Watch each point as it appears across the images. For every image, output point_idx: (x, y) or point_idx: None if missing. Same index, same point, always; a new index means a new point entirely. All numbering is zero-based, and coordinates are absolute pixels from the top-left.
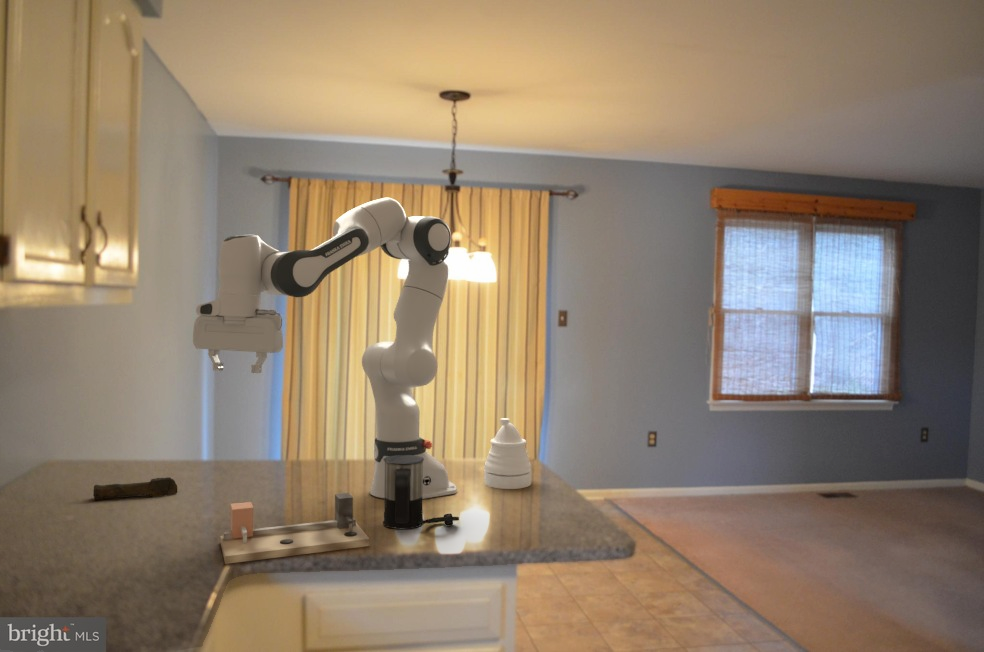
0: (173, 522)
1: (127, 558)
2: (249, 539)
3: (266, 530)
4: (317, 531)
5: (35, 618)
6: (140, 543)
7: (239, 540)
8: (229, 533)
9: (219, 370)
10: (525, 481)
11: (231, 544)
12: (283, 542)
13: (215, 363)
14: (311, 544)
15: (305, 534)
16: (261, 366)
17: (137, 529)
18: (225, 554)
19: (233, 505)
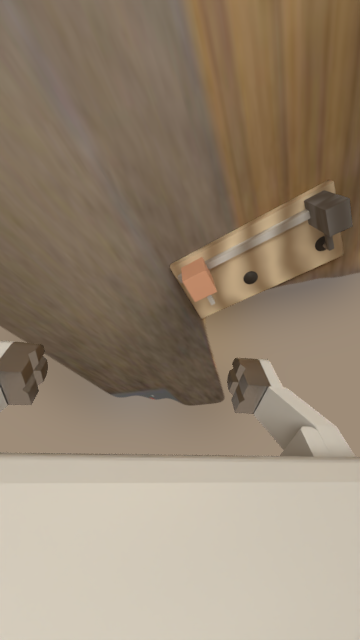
0: (60, 193)
1: (105, 314)
2: None
3: (223, 261)
4: (281, 237)
5: (126, 394)
6: (85, 277)
7: None
8: None
9: (46, 364)
10: None
11: None
12: (248, 281)
13: (11, 400)
14: (278, 280)
15: (267, 250)
16: (278, 381)
17: (39, 232)
18: (200, 315)
19: (189, 287)
